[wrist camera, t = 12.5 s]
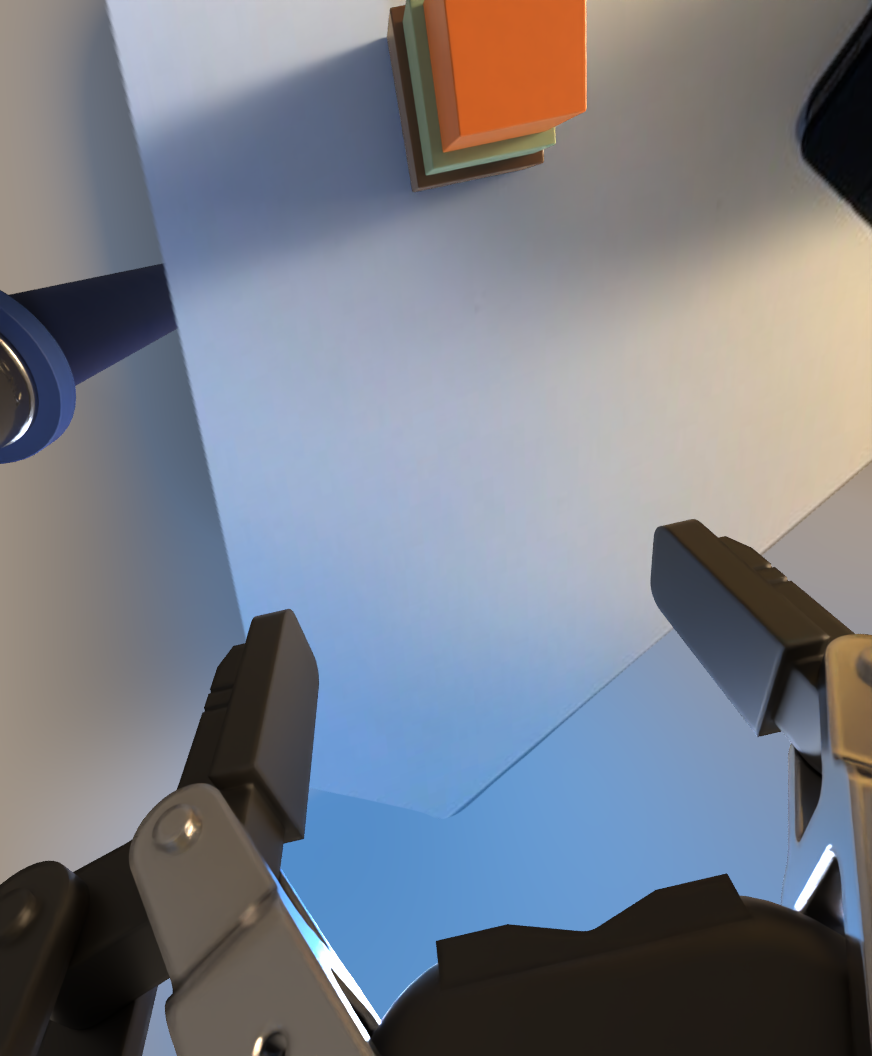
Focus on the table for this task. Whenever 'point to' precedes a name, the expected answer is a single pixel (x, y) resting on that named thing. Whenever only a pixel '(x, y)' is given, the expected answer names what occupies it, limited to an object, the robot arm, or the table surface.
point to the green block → (428, 112)
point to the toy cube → (505, 67)
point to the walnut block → (412, 130)
